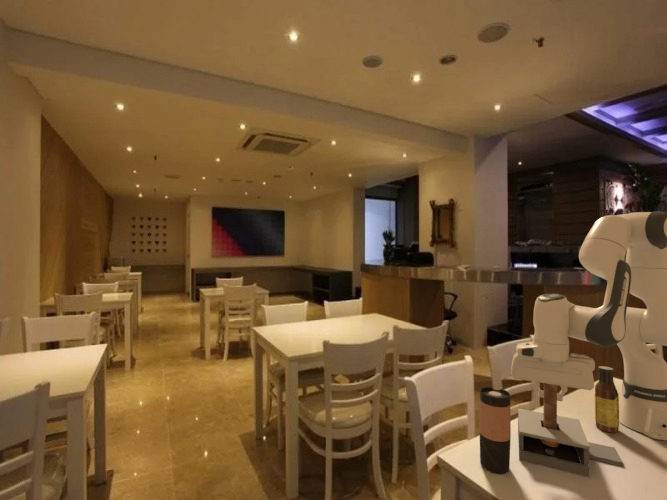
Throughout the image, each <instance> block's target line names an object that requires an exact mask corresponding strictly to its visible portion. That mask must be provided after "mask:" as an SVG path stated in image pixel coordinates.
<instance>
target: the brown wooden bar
mask: <svg viewBox="0 0 667 500" xmlns="http://www.w3.org/2000/svg"><path fill="white" fill-rule="evenodd" d="M543 390H544V398H543V412H542V413H543V426H544V428H549V429H554V430H557V416H558V415H557V414H558V401H557V393H558V385H553V384H546V383H543Z"/></svg>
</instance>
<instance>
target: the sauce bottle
mask: <svg viewBox="0 0 667 500" xmlns="http://www.w3.org/2000/svg"><path fill="white" fill-rule="evenodd" d="M597 367H598V369H597V372H598V381H597V383H596V384H595V385H594V421H595V426H596V427H597V428H598V429H599V430H601V431H603V432H608V433H618V432H619V430H620V429H619V428H620V422H619V414H620V406H619V404H620V403H619V399H620V398H619V397H620V396H619V392H618V389H617V387H616V385H615V382H614V381H615V380H614V371H615V370H614V368H612V367H609V366H606V365H605V366H604V365H600V366H597Z"/></svg>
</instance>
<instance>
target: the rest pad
mask: <svg viewBox="0 0 667 500" xmlns="http://www.w3.org/2000/svg"><path fill="white" fill-rule="evenodd" d="M588 444H589V446H590V450H589V460H593V461H599V462H603V463H607V464H612V465H617V466H620V467H623V460H622V458H621V456H620V455H619V453H618V451H617V449H616V447H614V446H609V445H605V444H600V443H594V442H590V441H588Z"/></svg>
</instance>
